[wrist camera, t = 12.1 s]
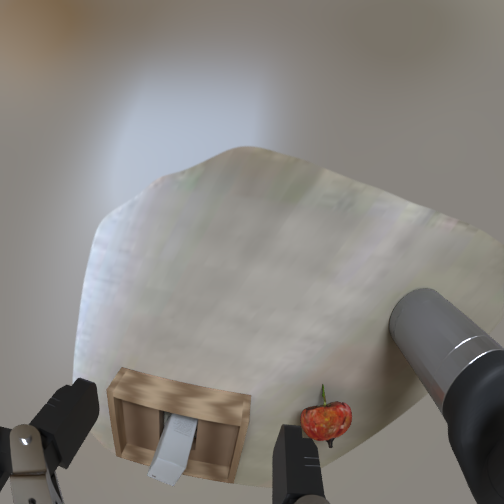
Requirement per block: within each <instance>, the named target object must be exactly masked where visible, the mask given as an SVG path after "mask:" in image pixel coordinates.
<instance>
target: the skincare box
mask: <svg viewBox="0 0 504 504" xmlns="http://www.w3.org/2000/svg"><path fill="white" fill-rule="evenodd" d="M197 422H198V419H197V418H192V417H188V416H183V415H179V414H174V413H171V414H170V416H169V418H168V420H167V422H166V424H165V427H164V429H163V432H162V435H161V438H160V440H159V443H158V446H157V449H156V451H155V454H154V457H153V460H152V462H151V465H150V468H149V471H148V474H147V476H149V477H151V478H154V479H156V480H159V481H161V482H164V483H166V484H169V485H172V486H174V485H175V483H176V482H177V481H178V479H179V478H180V476H181V475H182V473H183V472H184V470H185V469H186V465H187V461H188V458H189V454H190V450H191V446H192V442H193V438H194V434H195V430H196V426H197Z"/></svg>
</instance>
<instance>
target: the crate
mask: <svg viewBox="0 0 504 504" xmlns="http://www.w3.org/2000/svg"><path fill="white" fill-rule="evenodd" d="M107 398H108V406H109V413H110V420H111V427H112V433H113V439H114V445H115V450H116V456H118V457H121V458H124V459H127V460H130V461H133V462H137V463H140V464H144V465H147V466H150V465H151V462H152V460H153V457H154V454H155V451H156V449H157V446H158V443H159V440H160V438H161V435H162V432H163V429H164V411H166V412H170V413H174V414H179V415H183V416H188V417H192V418H197V419H198V427H197V437H194V438H193V442H192V446H191V450H190V454H189V458H188V461H187V465H186V469H185V470H184V472H183V473H182V474H183V475H188V476H192V477H197V478H203V479H208V480H214V481H220V482H226V483H234V479H235V475H236V472H237V468H238V464H239V460H240V456H241V452H242V448H243V444H244V440H245V436H246V432H247V428H248V424H249V415H250V402H251V395H246V394H240V393H234V392H228V391H222V390H217V389H212V388H206V387H201V386H196V385H192V384H187V383H182V382H178V381H173V380H169V379H165V378H161V377H157V376H153V375H149V374H145V373H141V372H137V371H134V370H130V369H126V368H123V367H122V368H121V369H120V371H119V372H118V373H117V375H116V376H115V378H114V379H113V381H112V382H111V384H110V385H109V387H108V388H107Z"/></svg>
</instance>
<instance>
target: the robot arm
mask: <svg viewBox="0 0 504 504" xmlns="http://www.w3.org/2000/svg"><path fill="white" fill-rule="evenodd" d="M389 329H390V334H391V336H392V338H393V340H394V341H395V343H396V344H397V346H398V347H399V349H400V350H401V352H402V353H403V355H404V356H405V358H406V359H407V361H408V362H409V364H410V365H411V367H412V368H413V370H414V371H415V373H416V374H417V376H418V377H419V379H420V381H421V382H422V384H423V385H424V387H425V388H426V390H427V391H428V393H429V394H430V396H431V397H432V399H433V401H434V402H435V404H436V405H437V407H438V409H439V410H440V412H441V413H442V415H443V417H444V419H445V420H446V422H447V424H448V437H449V442H450V445H451V447H452V450H453V452H454V454H455V456H456V458H457V461H458V463H459V465H460V467H461V470H462V472H463V474H464V476H465V479H466V481H467V484H468V486H469V488H470V490H471V492H472V495H473V497H474V499H475V500H476V502H477V504H504V348H503V347H502V346H501V345H500V344H499V343H497V342H496V341H495V340H494V339H492V337H490V336H489V335H488V334H487V333H486V332H485V331H484V330H482V329H481V328H480V327H479V326H478V325H477V324H475V323H474V322H473V321H472V320H471V319H470V318H468V317H467V316H466V315H465V314H464V313H462V312H461V311H460V310H459V309H458V308H456V307H455V306H454V305H453V304H452V303H450V302H449V301H448V300H447V299H445V298H444V297H443V296H442V295H440V294H439V293H438V292H437V291H435V290H433V289H428V288H422V289H417V290H414V291H412V292H410V293H408V294H407V295H406V296H405V297H403V298H402V299H401V300H400V301H399V302H398V304H397V305H396V307H395V308H394V310H393V312H392V315H391V318H390V323H389ZM98 415H99V401H98V394H97V387H96V384H95V383H94V382H91V381H88V380H85V379H82V378H78V379H77V380H76V381H75V382H74V384H73V385H72V386H69V385H65V386H64V387H62V388H60V389H58V390H57V391H56V392H55V394H54V395H53V396H52V398H50V399H49V401H48V402H47V404H45V405H44V407H43V408H42V409H41V410H40V412H39V413H38V414H37V415H36V416H35V418H34V419H33V420H32V421H31V423H30V424H29V425H27V424H21V425H18V426H16V427H14V428H13V429H9V428H4V427H0V491H1V490H2V488H3V486H4V485H5V483H6V481H7V480H8V478H9V476H10V484H11V490H12V496H13V502H14V504H64V501H63V497H62V494H61V490H60V487H59V483H58V479H57V475H56V472H55V470H56V469H57V467H58V466H60V467H63V468H65V469H67V468H68V467H69V465H70V463H71V461H72V460H73V458H74V456H75V455H76V453H77V451H78V450H79V448H80V446H81V445H82V443H83V442H84V440H85V438H86V437H87V435H88V433H89V432H90V430H91V428H92V427H93V425H94V424H95V422H96V420H97V418H98ZM11 473H12V474H11ZM272 497H273V498H272V500H273V504H330V503H329V501H328V500H326V498H325V495H324V489H323V482H322V476H321V468H320V461H319V455H318V448H317V446H316V445H315V443H314V442H313V440H312V439H311V438H302V430H301V426H296V425H285V424H283V425H282V426H281V429H280V432H279V435H278V438H277V441H276V444H275V447H274V451H273V495H272Z"/></svg>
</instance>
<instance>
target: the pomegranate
mask: <svg viewBox="0 0 504 504" xmlns="http://www.w3.org/2000/svg"><path fill="white" fill-rule="evenodd" d="M322 390H323V393H322V397H323V399H324V405H323V407H320V406H322V405H318V406H312V407H308V408H306V409H304V410H303V412H302V414H301V419H300V421H301V426H302V428H303V430H304V432H305V433H306V434H307V435H308V436H309V437H310V438H312V439H314V440H317V441H324V440H326V441H327V442H328V444H329V448H332V447H333V446H332V442H333V440H334V438H336V437H339V436H341V435H342V434H344V433H345V432H346V431H347V429H348V428H349V427H350V425H351V422H352V412H351V409H350V407H349V406H348V405H347V404H346V403H343V402H342V403H341V402H338V401H336V402H332V403H329V404H327V405H326V399H325V392H324V385H323V384H322Z"/></svg>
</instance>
